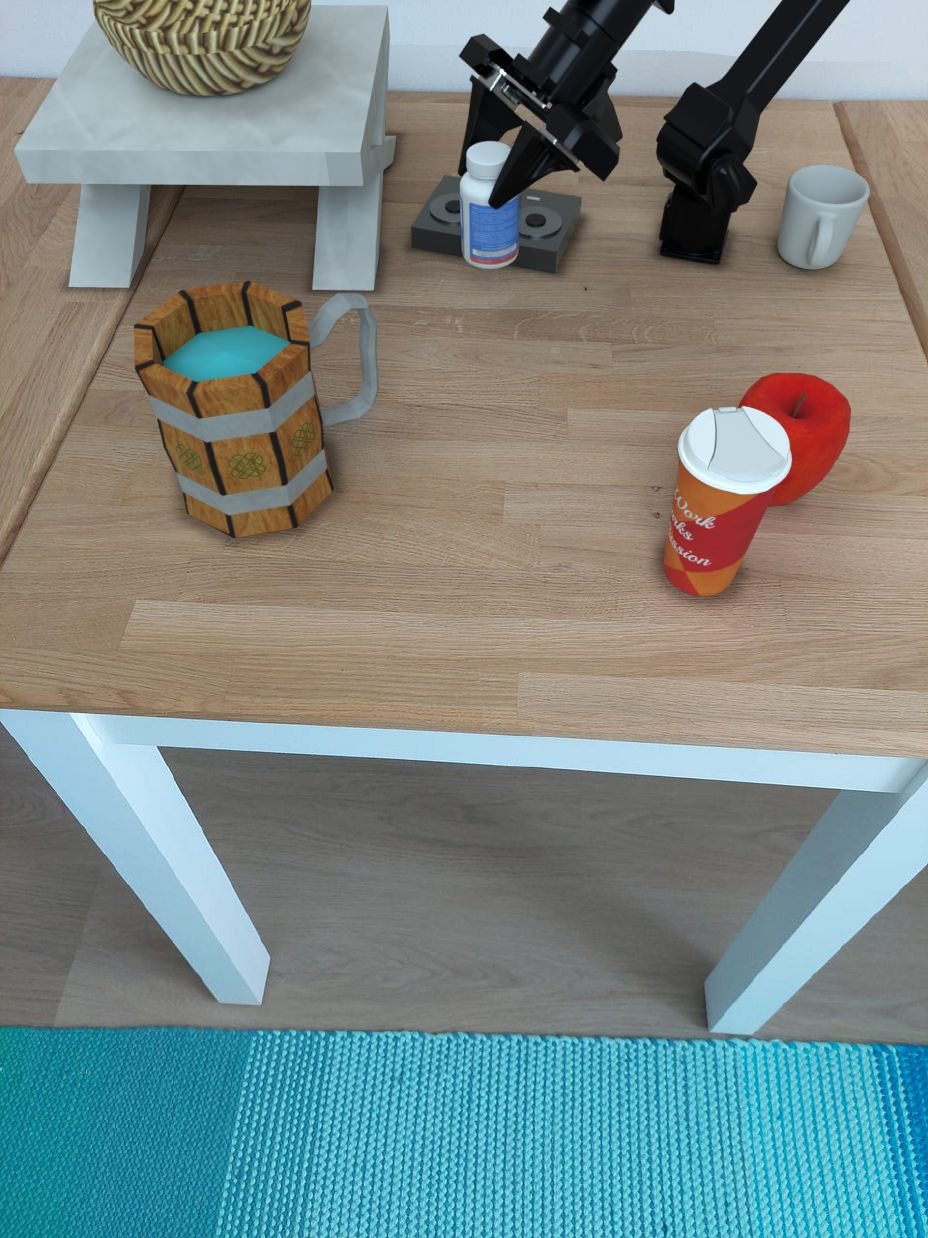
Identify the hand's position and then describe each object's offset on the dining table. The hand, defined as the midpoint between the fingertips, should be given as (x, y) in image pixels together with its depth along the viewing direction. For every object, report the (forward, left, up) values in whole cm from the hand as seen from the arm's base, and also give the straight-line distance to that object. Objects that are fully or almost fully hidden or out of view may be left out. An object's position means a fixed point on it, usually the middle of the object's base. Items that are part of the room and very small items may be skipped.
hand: (476, 191), depth 83 cm
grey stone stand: (+31, -12, -13) cm, 36 cm away
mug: (+9, +25, -13) cm, 30 cm away
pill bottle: (-1, -1, -7) cm, 7 cm away
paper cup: (-27, +26, -13) cm, 39 cm away
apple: (-31, +16, -13) cm, 37 cm away
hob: (+2, -15, -13) cm, 20 cm away
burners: (+2, -15, -11) cm, 19 cm away
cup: (-31, -19, -13) cm, 39 cm away
